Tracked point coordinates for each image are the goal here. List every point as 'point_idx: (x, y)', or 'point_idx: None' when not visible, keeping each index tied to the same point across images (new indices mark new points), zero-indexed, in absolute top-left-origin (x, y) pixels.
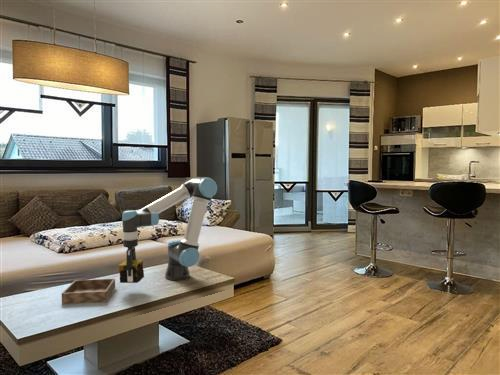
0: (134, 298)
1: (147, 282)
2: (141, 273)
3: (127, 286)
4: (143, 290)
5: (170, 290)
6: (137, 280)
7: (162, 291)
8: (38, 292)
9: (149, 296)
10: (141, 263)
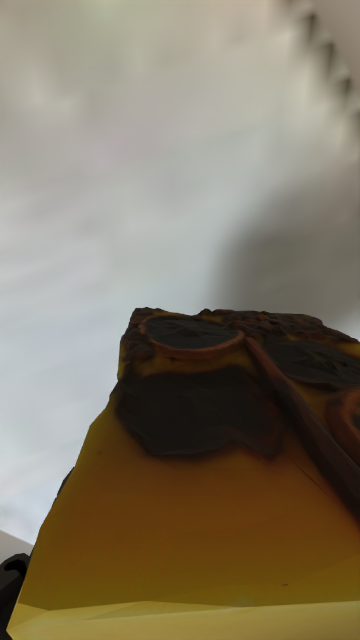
0: (303, 294)
1: (3, 309)
2: (205, 336)
3: (105, 396)
4: (163, 285)
5: (144, 45)
6: (320, 323)
7: (174, 126)
8: None
9: (278, 206)
10: (190, 480)
